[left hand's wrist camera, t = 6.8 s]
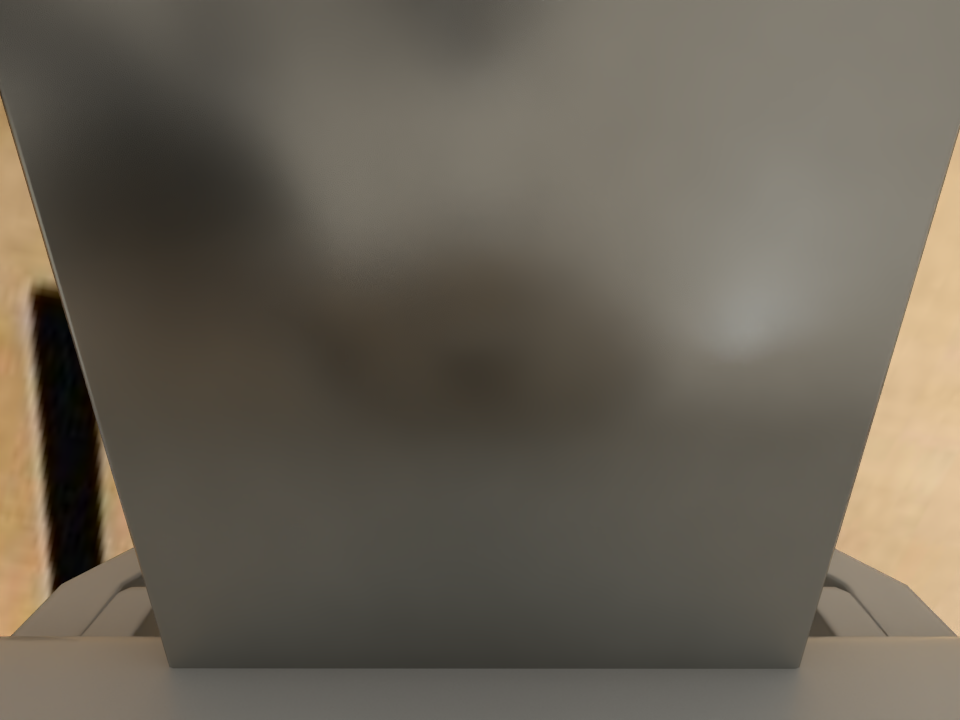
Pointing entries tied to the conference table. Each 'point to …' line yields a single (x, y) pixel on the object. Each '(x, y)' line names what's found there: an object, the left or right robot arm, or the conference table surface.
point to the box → (483, 309)
